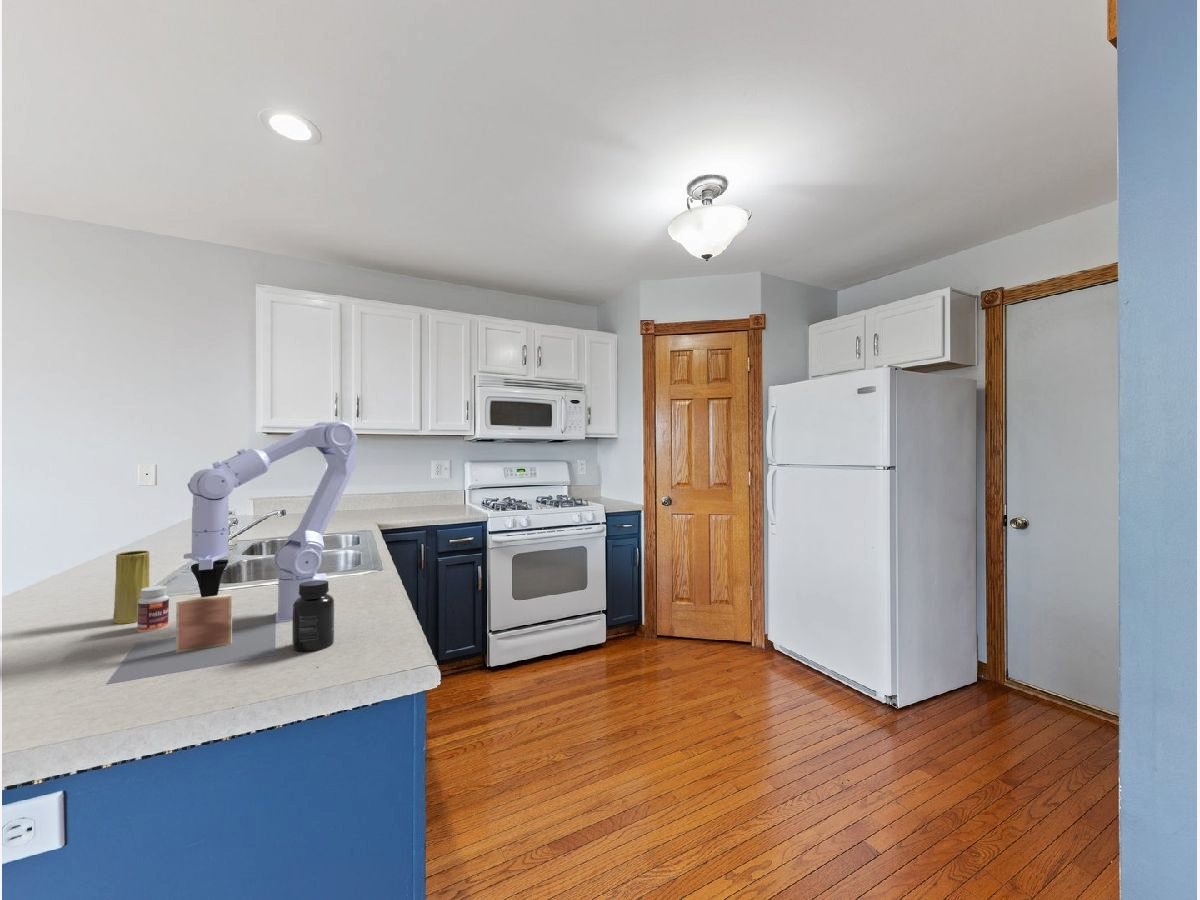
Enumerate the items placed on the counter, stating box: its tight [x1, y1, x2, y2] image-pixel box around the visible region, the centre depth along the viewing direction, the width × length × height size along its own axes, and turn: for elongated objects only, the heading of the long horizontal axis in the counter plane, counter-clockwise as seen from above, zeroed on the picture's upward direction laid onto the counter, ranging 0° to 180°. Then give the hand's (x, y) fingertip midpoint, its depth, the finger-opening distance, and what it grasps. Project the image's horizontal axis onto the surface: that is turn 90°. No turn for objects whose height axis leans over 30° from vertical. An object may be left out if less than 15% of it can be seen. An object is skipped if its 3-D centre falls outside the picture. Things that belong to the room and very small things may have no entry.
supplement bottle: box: [291, 580, 335, 653], centre depth 96 cm, size 7×7×12 cm
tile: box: [175, 593, 233, 653], centre depth 94 cm, size 8×2×9 cm, turn 122°
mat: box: [106, 622, 277, 685], centre depth 93 cm, size 22×20×1 cm
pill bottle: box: [137, 585, 170, 633], centre depth 104 cm, size 5×5×8 cm
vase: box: [111, 550, 150, 625], centre depth 110 cm, size 6×6×14 cm
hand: (209, 599), depth 101 cm, fingers closed
